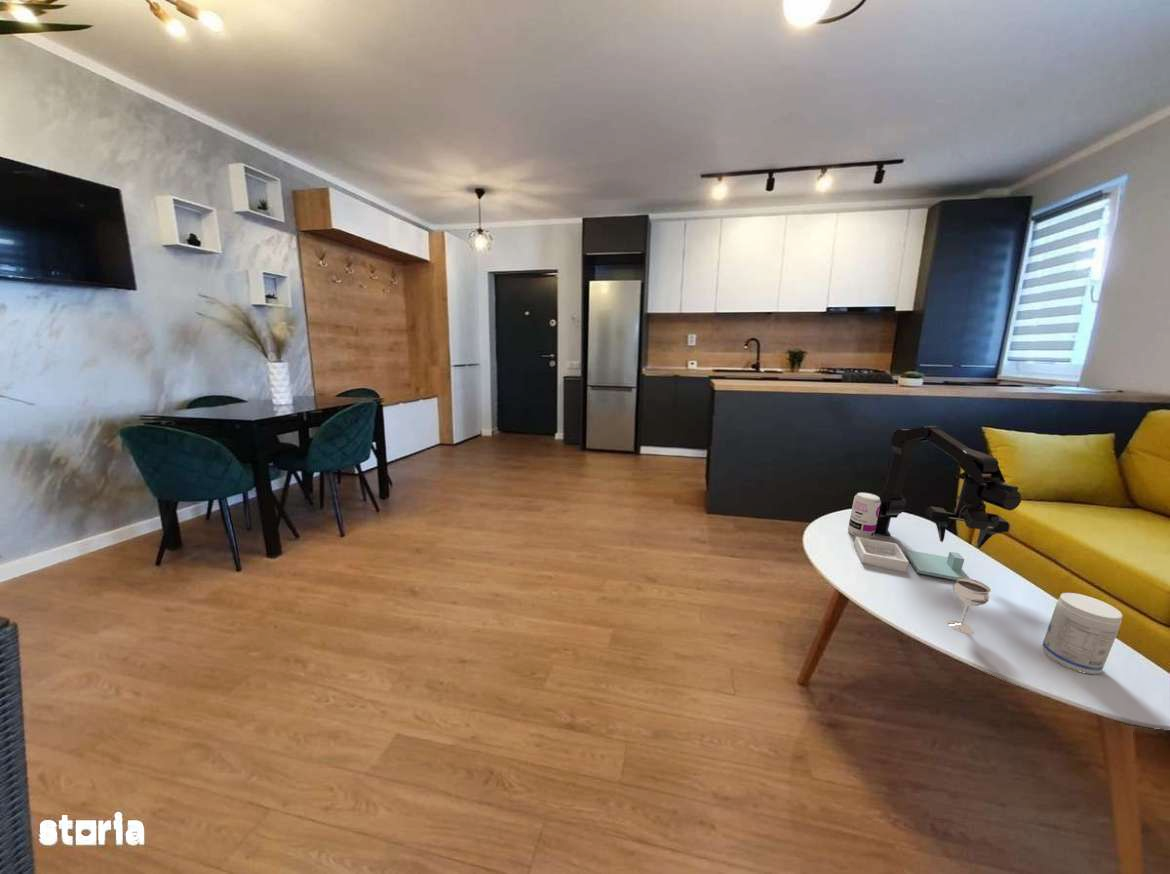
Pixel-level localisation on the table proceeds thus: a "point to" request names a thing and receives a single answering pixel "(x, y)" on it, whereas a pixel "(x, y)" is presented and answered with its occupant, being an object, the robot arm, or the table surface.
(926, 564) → the lid
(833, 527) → the table surface
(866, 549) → the white shallow square tray
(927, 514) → the robot arm
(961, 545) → the table surface
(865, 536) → the supplement can
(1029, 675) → the table surface
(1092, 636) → the supplement tub
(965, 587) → the wineglass
